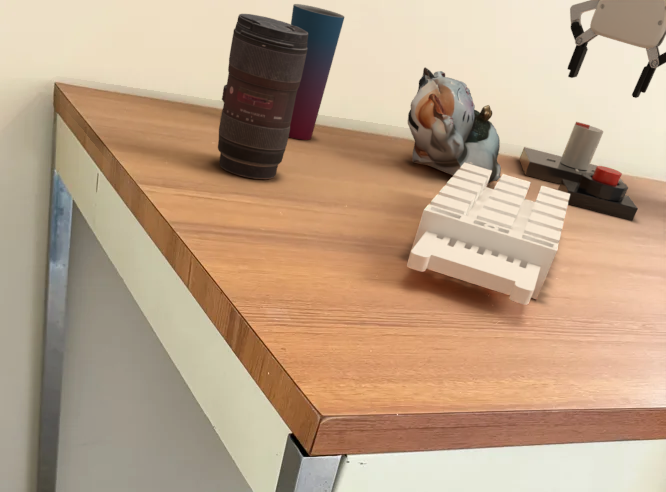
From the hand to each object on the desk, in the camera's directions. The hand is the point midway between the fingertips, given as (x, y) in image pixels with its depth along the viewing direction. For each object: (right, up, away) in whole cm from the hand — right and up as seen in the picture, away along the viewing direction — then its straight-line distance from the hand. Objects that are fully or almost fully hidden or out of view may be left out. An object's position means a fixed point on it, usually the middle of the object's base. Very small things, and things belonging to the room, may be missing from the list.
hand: (603, 86), depth 122 cm
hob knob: (-2, -9, +7) cm, 11 cm away
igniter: (-3, -19, -3) cm, 19 cm away
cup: (-46, -10, -6) cm, 47 cm away
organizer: (-27, -36, -33) cm, 56 cm away
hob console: (-2, -10, +8) cm, 13 cm away
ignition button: (-2, -16, -5) cm, 17 cm away
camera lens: (-52, -24, -25) cm, 63 cm away
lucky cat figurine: (-24, -15, -5) cm, 29 cm away
